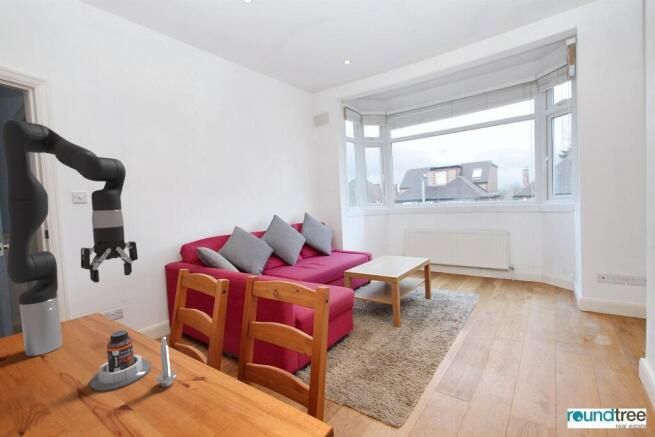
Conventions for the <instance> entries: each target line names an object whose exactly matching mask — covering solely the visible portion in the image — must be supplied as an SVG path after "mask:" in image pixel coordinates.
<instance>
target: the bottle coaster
mask: <svg viewBox="0 0 655 437" xmlns="http://www.w3.org/2000/svg"><path fill="white" fill-rule="evenodd" d="M133 356H134V365H132V366H130V367H128V368H126V369H124V370H120V371H117V372H109V367H108V361H106V362H104V364H102V365H101V366H99V368H98V372H97V373H95V374H94V375H93V376H92V378H91V379H90V381H89V386H90V388H91V389H92V390H94V391H95V392H96V391H97V392H108V391H115V390H117V389H118V390H119V389H121V388H124V387H127V386H130V385H133V384H134V383H136V382H138V381H140V380H141V379H143V378H144V377H145V376H146V375H148V374H149V372H150V370H151V368H152V366H151V362H150V361H149V360H147V359H143V357H142V355H139V354H134V353H133Z"/></svg>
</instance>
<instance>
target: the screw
mask: <svg viewBox="0 0 655 437" xmlns="http://www.w3.org/2000/svg"><path fill="white" fill-rule="evenodd" d="M160 340H161V344H160V356H161V357H160V358H161V359H160V361H161V369H162V372H161V373H160V374H158V376H157V377H156V379H155V381H156V382H157V383H158V384H161V387H165V388H166V387H169V386H171V385H173V380H174V379H175V378H176V377H177V376H178V373H177V371H175V370H171V365H170V354H169V353H170V352H169V345H168V343H167V338H166V336H161V339H160Z"/></svg>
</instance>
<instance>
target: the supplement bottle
mask: <svg viewBox="0 0 655 437" xmlns="http://www.w3.org/2000/svg"><path fill="white" fill-rule="evenodd" d="M128 333H129V332H128V330H127V329H122V330H117V331H115V332H112V333H111V334H110V341H109V342H107V345H106V352H107V362H108V367H109V372H117V371H120V370H124V369H126V368H128V367H130V366H132V365H134V356H133V355H134V346H133V345H134V344H133V339H132V338H131V337H130V336H128V335H129V334H128Z"/></svg>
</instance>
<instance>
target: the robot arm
mask: <svg viewBox="0 0 655 437" xmlns="http://www.w3.org/2000/svg"><path fill="white" fill-rule="evenodd" d="M1 129H2V130H1V131H2V132H1V140H2V146H3V155H4V160H5V165H6V176H7V212H8V213H7V214H8V225H9V226H8V229H9V230H8V231H9V232H8V233H9V234H8V235H9V238H8V239H9V241H8V249H7V250H8V252H7V274H8V277H9V279H10V281H11V282H12V283H14V284H18V285H21V284H25V283H30V282H31V283H32V282H35V281H36V282H35V283H34V285H32V286H31V287H30V288H29V289H27V290H26V291H24V292H22V293H20V294H19V295H18V303H19V305H18V306H19V310H20V312H19V313H20V320H21V329H22V337H23V345H24V354H25V356H27V357H35V356H37V357H38V356H42V355H45V354H48V353H51V352H53V351H56V350H57V349H60V348H61V347H62V346H63V336H62V326H61V320H60V309H59V301H58V289H59V288H58V287H59V283H58V282H59V281H58V280H59V279H58V264H57V259H56V257H55V255H54V254H53V253H52V252H51V251H47V250H46V251H45V250H43V251H36V252H29V250H30V244H31V241H32V239H33V237H34V236H35V234H36V233H37V232H38V230H39V229H40V227H41V226H42V225H43V224H44V222H45V220H46V218H47V217H48V216H49V215H48V214H49V195H48V192H47V190H46V189H45V187H44V185H42V183H41V182H40V181H39V179H38V178H37V177H36V175H35V174H34V173H33V171H32V169H31V168H30V166H29V163H28V158H27V153H36V154H41V153H42V154H50V155H54V156H55V158H56V159H57V161H59V162H60V163H61V164H63V166H67V167H68V168H71V169H72V170H75V171H77V173H79V175H81V176H82V177H83V178H84V179H85V180H89V181H92V182H102V183H103V182H104V186H103V188H102V189H96V190H94V191H92V193H91V196H90V197H91V198H90V199H91V210H92V214H91V223H92V235H93V247H81V248H80V268H81V269H84V270H89V277H90V279H89V280H90V281H91V282H92V283H95V284H96V283H99V282H100V276H99V275H100V274H99V273H100V272H99V269H98V268H99V267H100V266H101V264H103V263H104V261H108V260H111V259H118V258H119V259H120V260H121V261H122V262H123V273H124V275H125V276H131V273H132V272H133V268H132V262H134V261H137V260H139V257H138V256H139V255H138V249H137V242H135V241H132V240H131V241H127V242H125V225H124V222H125V221H124V216H123V211H122V199H121V198H122V197H121V196H122V192H123V187H124V184H125V181H126V175H127V173H126V168H125V165H124V163H123V162H122V161H121V160H119V159H116V158H111V157H103V156H97V154H96V153H94V152H93V151H91V150H90V149H88V148H85V147H83V146H81V145H78V144H76V143H73V142H72V141H69V140H67V139H66V138H64V137H63V136H62V135H59V134H58V133H56V132H55V131H54V130H53V129H51V128H49V127H48V126H46V125H44V124H40V123H33V122H28V121H24V120H17V119H7V120H6V121H5V122H4V123H3V125H2V128H1ZM126 248H127V249H128V254H129V255H128V254H127V253H126V252H125V249H126ZM93 252H94V253H95V256H94V257H93V258H92V260H91V255H92V254H93Z"/></svg>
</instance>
